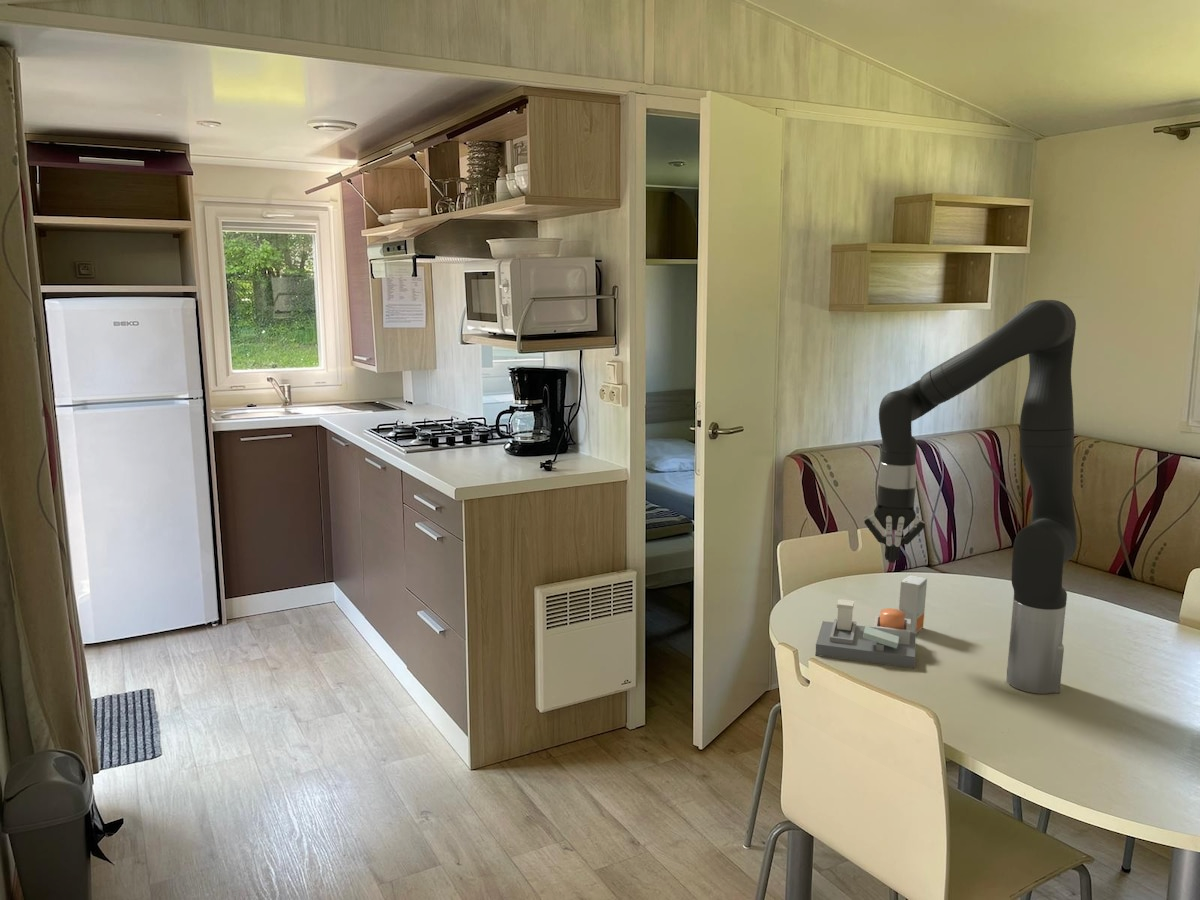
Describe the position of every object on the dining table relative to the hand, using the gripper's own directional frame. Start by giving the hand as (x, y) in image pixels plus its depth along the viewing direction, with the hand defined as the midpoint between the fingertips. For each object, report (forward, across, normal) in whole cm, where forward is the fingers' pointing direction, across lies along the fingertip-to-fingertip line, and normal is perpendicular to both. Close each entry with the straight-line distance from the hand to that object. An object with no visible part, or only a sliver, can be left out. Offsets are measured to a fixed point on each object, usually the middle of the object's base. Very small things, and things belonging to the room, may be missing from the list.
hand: (891, 561), depth 193 cm
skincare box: (+19, +6, +11) cm, 23 cm away
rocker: (+14, -2, -8) cm, 16 cm away
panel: (+19, -4, -3) cm, 20 cm away
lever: (+16, -9, +1) cm, 19 cm away
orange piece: (+16, +1, -1) cm, 16 cm away
